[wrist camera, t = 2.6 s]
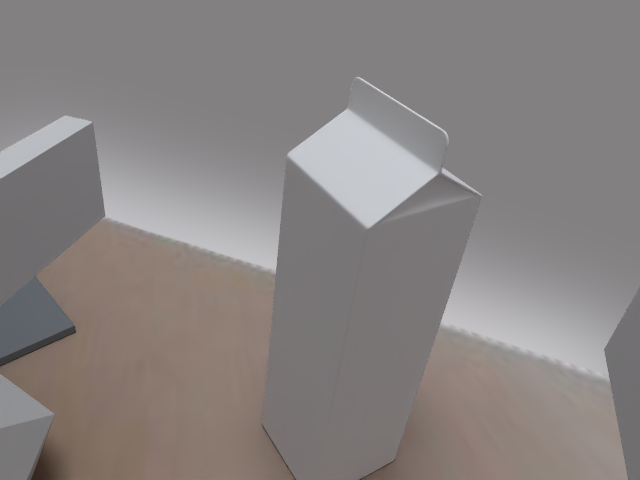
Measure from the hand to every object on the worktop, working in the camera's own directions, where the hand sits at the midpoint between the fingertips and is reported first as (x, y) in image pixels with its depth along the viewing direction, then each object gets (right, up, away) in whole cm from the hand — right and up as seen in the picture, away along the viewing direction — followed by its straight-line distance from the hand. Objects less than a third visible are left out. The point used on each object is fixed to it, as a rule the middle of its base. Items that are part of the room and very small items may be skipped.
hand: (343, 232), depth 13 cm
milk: (0, -13, +21) cm, 25 cm away
